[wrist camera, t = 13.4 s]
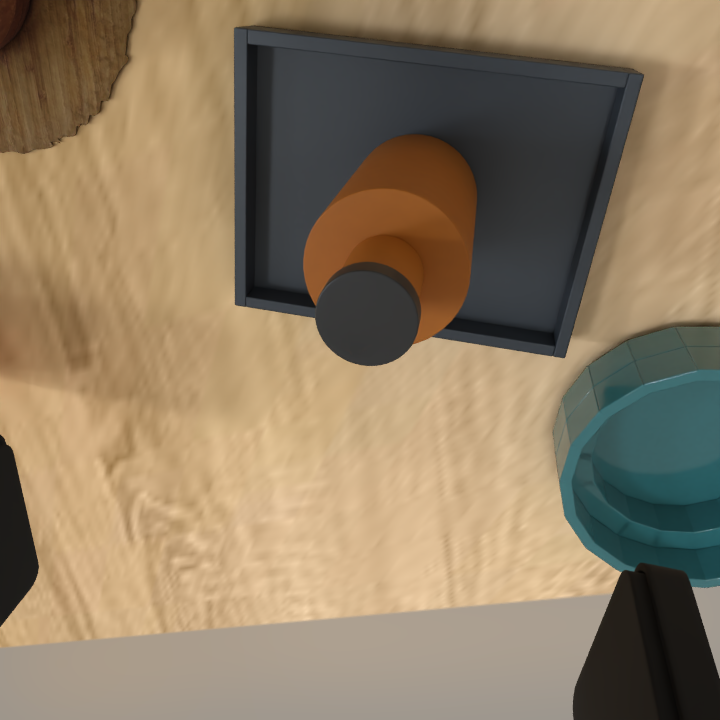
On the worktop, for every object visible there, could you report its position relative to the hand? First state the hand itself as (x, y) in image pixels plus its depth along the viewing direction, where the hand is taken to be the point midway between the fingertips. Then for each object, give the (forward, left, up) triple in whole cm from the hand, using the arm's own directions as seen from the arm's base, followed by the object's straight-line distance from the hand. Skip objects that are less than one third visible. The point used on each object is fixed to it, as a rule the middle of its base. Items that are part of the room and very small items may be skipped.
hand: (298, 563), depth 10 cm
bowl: (-15, +12, -26) cm, 32 cm away
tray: (+1, +1, -26) cm, 26 cm away
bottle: (+1, +1, -25) cm, 25 cm away
